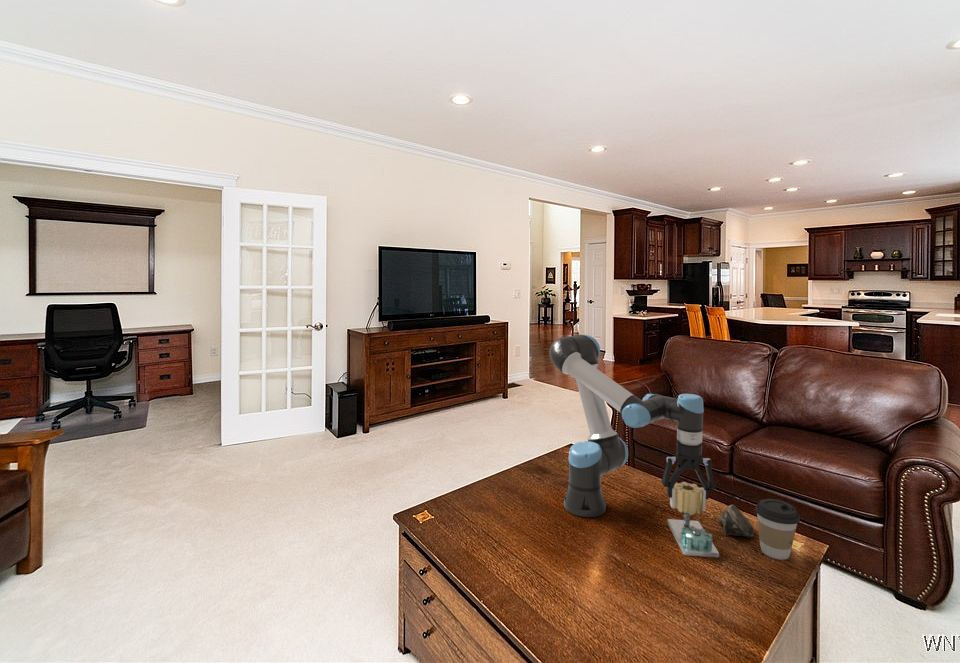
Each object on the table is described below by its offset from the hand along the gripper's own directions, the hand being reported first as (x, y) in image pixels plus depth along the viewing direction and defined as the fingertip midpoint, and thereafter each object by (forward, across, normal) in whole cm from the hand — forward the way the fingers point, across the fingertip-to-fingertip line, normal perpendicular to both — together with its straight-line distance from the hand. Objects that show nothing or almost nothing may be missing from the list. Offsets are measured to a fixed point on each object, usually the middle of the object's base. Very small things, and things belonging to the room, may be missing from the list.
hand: (687, 507), depth 144 cm
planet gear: (0, 0, 0) cm, 0 cm away
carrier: (+8, 0, -5) cm, 10 cm away
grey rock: (+9, +16, +1) cm, 18 cm away
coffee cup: (+9, +23, -9) cm, 26 cm away
